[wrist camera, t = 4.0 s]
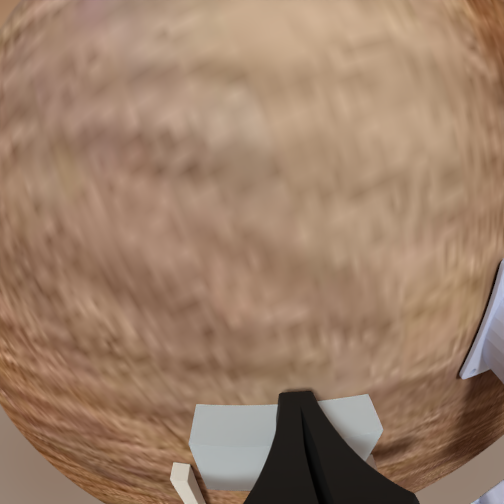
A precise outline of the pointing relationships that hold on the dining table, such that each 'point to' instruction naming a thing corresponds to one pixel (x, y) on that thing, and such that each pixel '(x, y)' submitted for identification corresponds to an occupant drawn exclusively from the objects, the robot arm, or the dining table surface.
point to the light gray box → (266, 437)
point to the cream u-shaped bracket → (189, 487)
